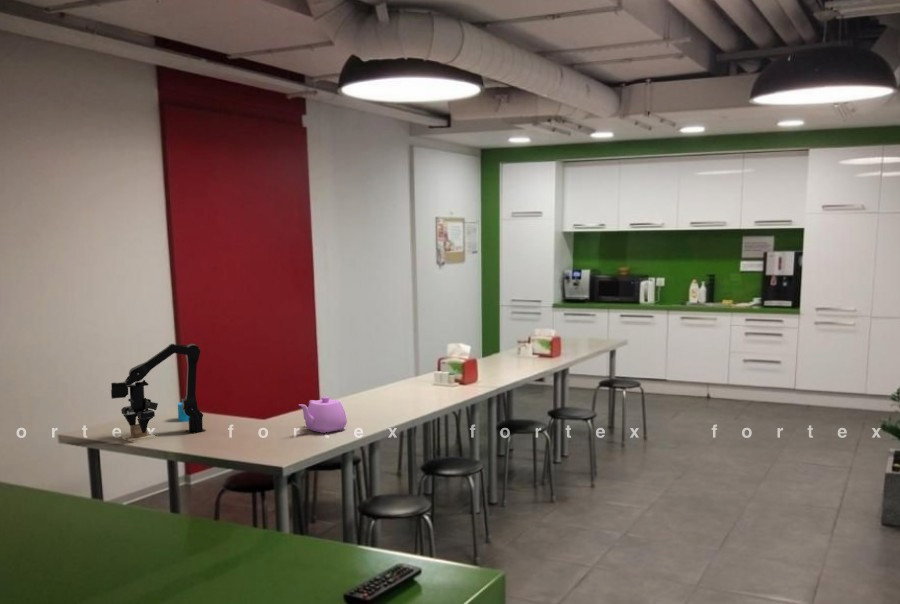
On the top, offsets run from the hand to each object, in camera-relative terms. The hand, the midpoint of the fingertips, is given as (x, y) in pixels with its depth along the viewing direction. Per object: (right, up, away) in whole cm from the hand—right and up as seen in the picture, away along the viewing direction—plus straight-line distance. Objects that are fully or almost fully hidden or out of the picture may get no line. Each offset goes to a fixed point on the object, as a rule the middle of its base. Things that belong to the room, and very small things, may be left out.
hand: (138, 431), depth 314 cm
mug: (+9, -1, +37) cm, 38 cm away
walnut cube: (0, -2, 0) cm, 2 cm away
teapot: (+80, -1, +10) cm, 81 cm away
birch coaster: (0, -3, 0) cm, 3 cm away
